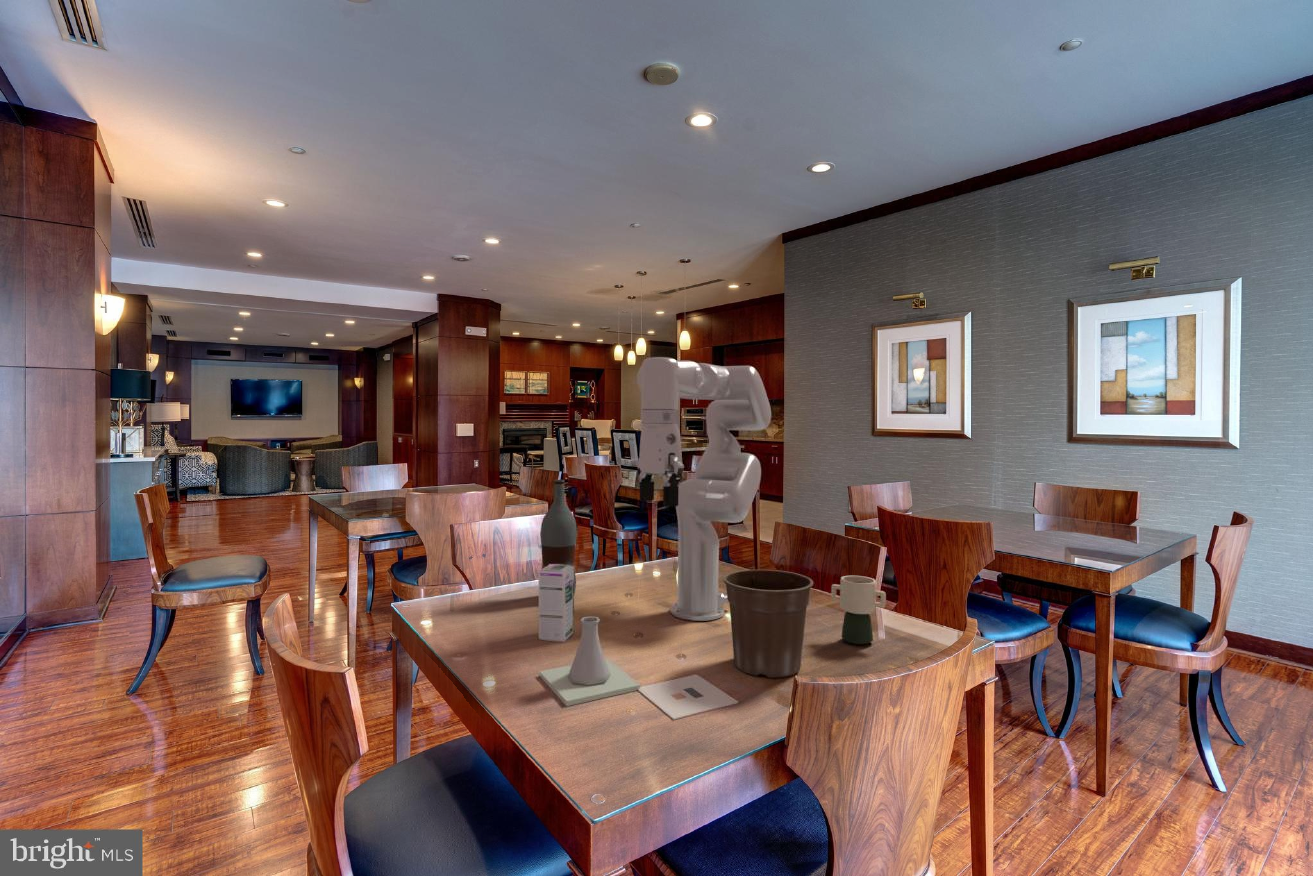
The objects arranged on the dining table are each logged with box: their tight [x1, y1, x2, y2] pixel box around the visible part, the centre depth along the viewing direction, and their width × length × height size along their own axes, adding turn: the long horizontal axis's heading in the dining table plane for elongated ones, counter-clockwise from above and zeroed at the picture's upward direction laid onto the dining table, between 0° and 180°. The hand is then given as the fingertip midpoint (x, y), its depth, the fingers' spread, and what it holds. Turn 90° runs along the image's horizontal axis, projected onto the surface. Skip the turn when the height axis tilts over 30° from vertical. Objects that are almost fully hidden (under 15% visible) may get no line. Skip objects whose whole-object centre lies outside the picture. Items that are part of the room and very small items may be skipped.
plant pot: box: [723, 569, 814, 679], centre depth 111 cm, size 16×16×16 cm
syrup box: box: [538, 564, 575, 643], centre depth 125 cm, size 6×6×14 cm
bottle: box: [539, 479, 578, 595], centre depth 152 cm, size 9×9×30 cm
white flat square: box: [637, 674, 739, 721], centre depth 98 cm, size 12×12×1 cm
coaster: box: [538, 658, 641, 707], centre depth 103 cm, size 13×13×1 cm
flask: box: [568, 616, 610, 685], centre depth 103 cm, size 7×7×10 cm
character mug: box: [830, 575, 887, 645], centre depth 125 cm, size 11×7×13 cm, turn 58°
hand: (658, 503), depth 123 cm, fingers open, 9 cm apart
